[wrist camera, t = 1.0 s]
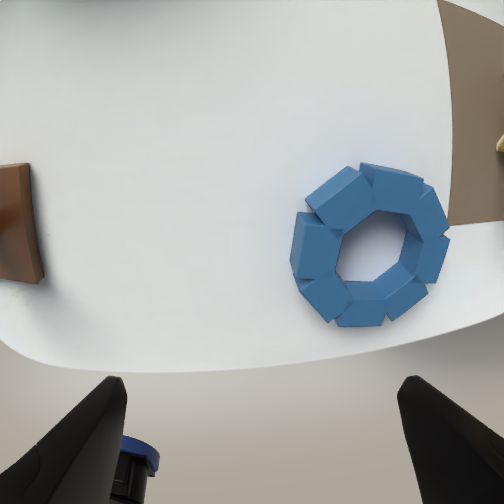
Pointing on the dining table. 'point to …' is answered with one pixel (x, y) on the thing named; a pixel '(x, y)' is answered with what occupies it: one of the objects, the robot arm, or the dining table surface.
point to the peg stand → (18, 227)
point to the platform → (475, 114)
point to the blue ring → (347, 217)
